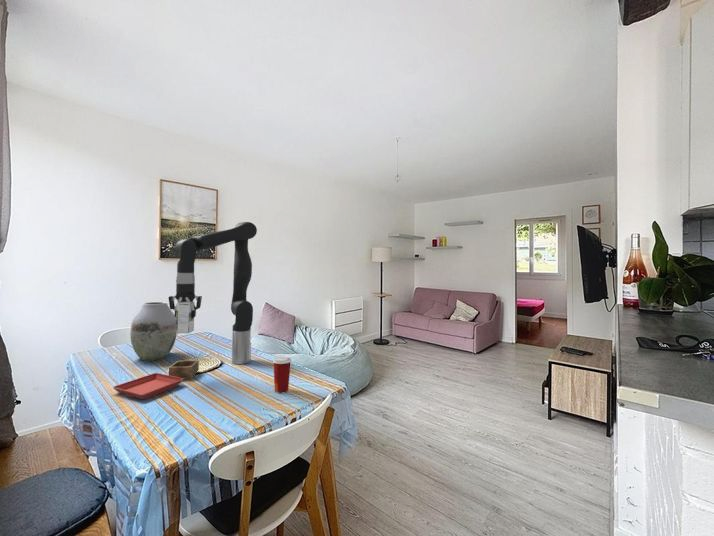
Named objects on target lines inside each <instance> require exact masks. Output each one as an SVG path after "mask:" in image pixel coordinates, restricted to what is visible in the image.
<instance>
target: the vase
mask: <svg viewBox="0 0 714 536" xmlns="http://www.w3.org/2000/svg"><path fill="white" fill-rule="evenodd" d="M129 331H130V335H129V336H130V341H131V342H130V343H131V346H132V349H133V350H134V352H135V354H136V355H137V357H138V358H139V359H140V360H142V361H147V362H148V361H157V360H158V361H159V360H162V359H164V358H166V357H167V356H168V355H169V354H170V352H171V351H172V349H173V347H174V345H175V342H176V338H177V334H178V333H176V317H175V312H173V310H172V309H170V305H168V303H167V301H149V302H144V303H142V304H141V307H140V308H139V310H137V312H136V313H135V315H134V316H133V318H132V322H131V325H130V330H129Z"/></svg>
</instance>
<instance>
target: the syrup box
mask: <svg viewBox="0 0 714 536" xmlns="http://www.w3.org/2000/svg"><path fill="white" fill-rule="evenodd" d="M191 303H192V304H193V303H194V304H195V301H194V300H193V302H191ZM176 304H177V305H176ZM176 304H175V306H176V333H177V334H190V333H192V332H193V331H195V330H194V329H195V317H194V318H191V311H192V309H191V306H190V302H178V301H177V302H176Z"/></svg>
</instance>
